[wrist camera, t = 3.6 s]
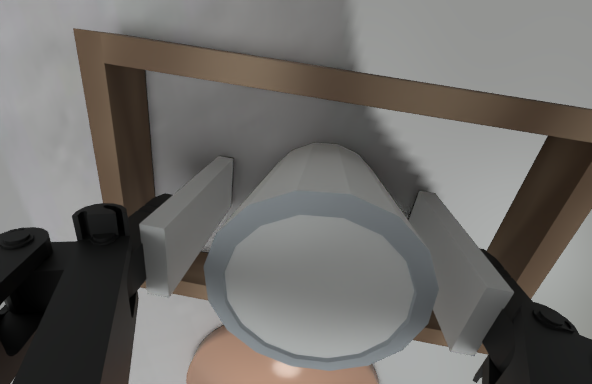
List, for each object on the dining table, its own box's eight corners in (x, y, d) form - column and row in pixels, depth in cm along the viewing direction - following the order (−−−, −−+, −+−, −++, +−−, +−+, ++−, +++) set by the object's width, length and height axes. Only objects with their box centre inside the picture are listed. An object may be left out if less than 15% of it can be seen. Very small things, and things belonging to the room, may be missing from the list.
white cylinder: (268, 113, 13) (212, 161, 7) (413, 149, 13) (490, 231, 7) (247, 233, 16) (193, 345, 10) (365, 263, 16) (387, 394, 10)
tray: (589, 108, 12) (651, 120, 9) (470, 315, 17) (492, 355, 15) (119, 34, 12) (73, 28, 10) (144, 254, 18) (116, 282, 15)
